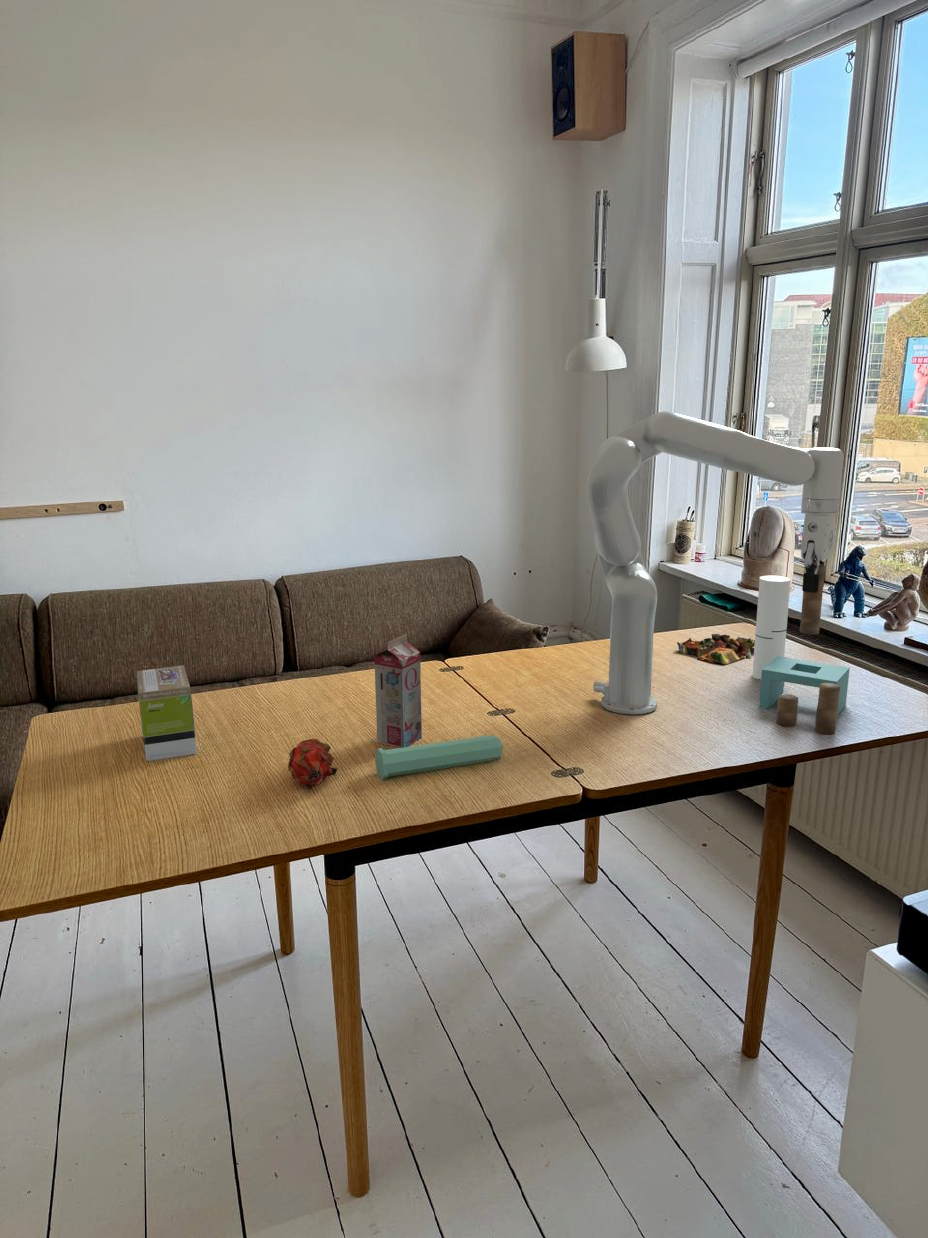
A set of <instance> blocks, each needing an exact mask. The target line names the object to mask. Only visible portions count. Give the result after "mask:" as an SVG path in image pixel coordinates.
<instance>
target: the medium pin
mask: <svg viewBox="0 0 928 1238" xmlns="http://www.w3.org/2000/svg"><path fill="white" fill-rule="evenodd" d="M818 689H819V690H818V698H817V699H818V700H817V708H816V715H815V716H816V717H815V723H814V724H815V725H814V731H815V732H816V733H817V734H821V735H829V736H830V735H834V734H836V728H837V719H838V716H837V712H838V704H839V696H840V686H839V685H836V684H832V683H822V684H820V688H818Z"/></svg>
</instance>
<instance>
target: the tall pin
mask: <svg viewBox="0 0 928 1238" xmlns="http://www.w3.org/2000/svg"><path fill="white" fill-rule="evenodd" d="M814 565H815V564H814ZM824 572H825V573H826V565H825V566H824V565H821V564H819V570H818V574H820V575H819V586H818V592H817V593H813V592H804V591H803V590H802V602H801V603H802V604H801V615H800V626H799V627H800V628H799V633H801V634H804V635H818V634H820V628H821V627H820V626H821V616H822V604H823V593H824V587H823V583H824V584H825V577H824Z"/></svg>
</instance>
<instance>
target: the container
mask: <svg viewBox="0 0 928 1238" xmlns="http://www.w3.org/2000/svg"><path fill="white" fill-rule="evenodd" d="M502 743H503V742H502V739H500V738H499V737H498V736H496V735H493V734H492V735H491V734H489V735H482V736H475V737H469V738H461V739H455V740H448V741H442V742H440V741H439V742H433V743H428V744H427V743H426V744H421V745H420V744H419V745H412V746H411V745H410V746H408V747H404V748H398V747H396V748H393V749H383V748H382V747H381V748H377V749H376V751H375V755H374V757H375V763H374V764H375V768H376V772H377V775H378V776H379V778H380V779H381V780H386V779H387V778H389V777H397V776H402V775H408V774H415V773H416V774H417V773H423V772H428V771H435V770H436V771H437V770H443V769H448V768H453V767H454V768H455V767H460V766H466V765H471V764H472V765H473V764H478V763H484V762H485V763H486V762H490V761H491V762H492V761H495V760H499V759H500V758H501V757H502V755H503V754H504V753H503V750H504V749H503V748H504V747H503V744H502ZM387 780H388V779H387Z"/></svg>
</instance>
